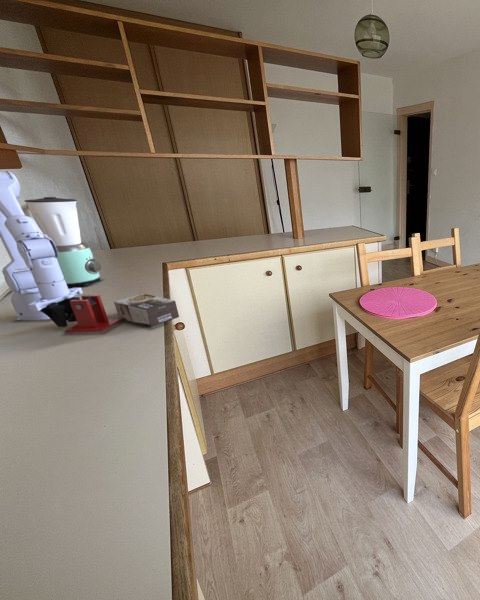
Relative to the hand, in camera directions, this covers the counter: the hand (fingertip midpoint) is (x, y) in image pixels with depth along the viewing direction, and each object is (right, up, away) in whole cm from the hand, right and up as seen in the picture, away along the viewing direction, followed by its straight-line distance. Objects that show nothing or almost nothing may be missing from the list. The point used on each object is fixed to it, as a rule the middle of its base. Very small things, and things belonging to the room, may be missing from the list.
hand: (67, 324), depth 94 cm
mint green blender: (-36, +14, +38) cm, 54 cm away
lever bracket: (+7, -1, +1) cm, 7 cm away
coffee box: (+11, +5, +10) cm, 16 cm away
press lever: (+5, +3, -1) cm, 6 cm away
